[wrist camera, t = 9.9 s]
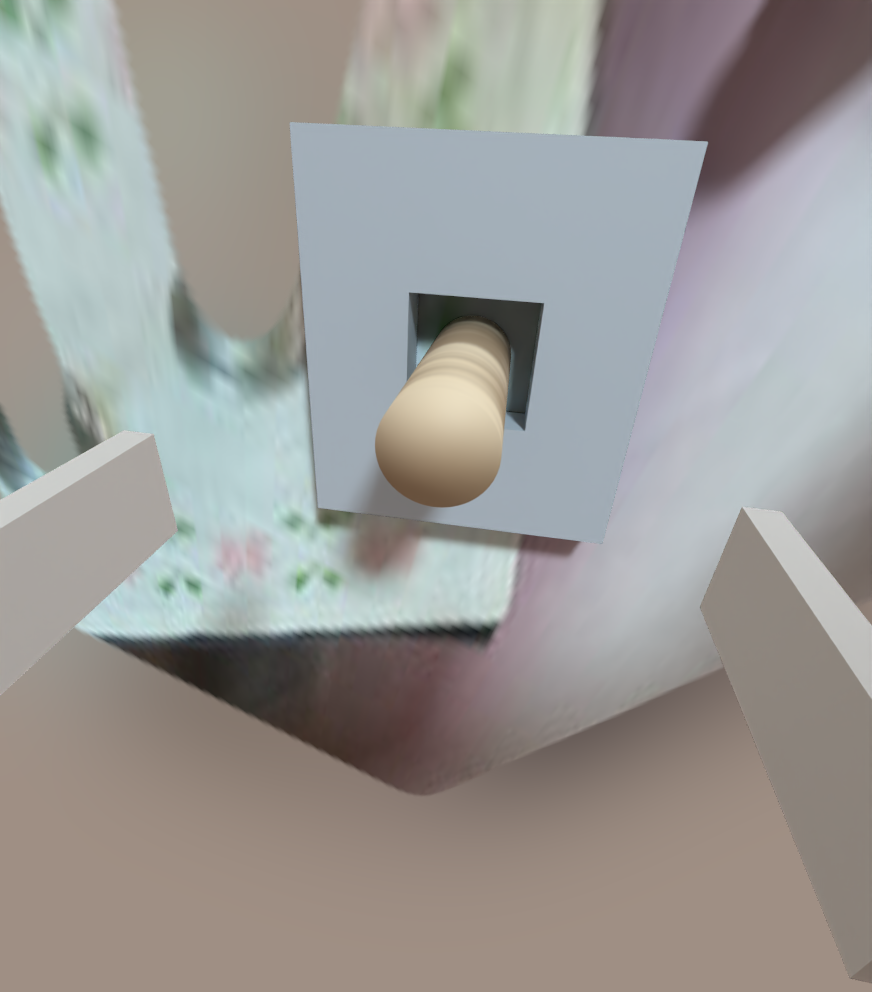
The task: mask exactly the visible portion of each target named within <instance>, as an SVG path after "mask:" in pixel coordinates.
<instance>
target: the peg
mask: <svg viewBox="0 0 872 992" xmlns="http://www.w3.org/2000/svg"><path fill="white" fill-rule="evenodd" d="M510 362H511V348H510V344H509V341H508V338H507V336H506V334H505V333H504V332H503V330H502V329H501V328H500V327H499V326H498V325H497V324H496V323H494V322H493V321H491V320H489V319H487V318H485V317H481V316H474V315H470V316H463V317H460V318H457V319H455V320H453V321H451V322H450V323H449V324H447V325H446V326H445V327H444V328H443V329H442V331H441V332H440V333H439V335H438V336H437V338H436V339H435V341H434V342H433V344H432V345H431V347H430V348H429V350H428V351H427V353H426V354H425V356H424V357H423V358H422V360H421V361H420V363H419V364H418V366H417V367H416V369H415V370H414V372H413V373H412V375H411V376H410V378H409V379H408V381H407V382H406V384H405V385H404V386H403V388H402V389H401V391H400V392H399V394H398V395H397V397H396V398H395V400H394V401H393V403H392V404H391V406H390V407H389V409H388V410H387V412H386V413H385V414H384V416H383V418H382V419H381V421H380V423H379V426H378V429H377V432H376V437H375V453H376V458H377V462H378V464H379V467H380V469H381V471H382V473H383V475H384V476H385V478H386V479H387V481H388V482H389V483H390V484H391V485H392V487H393V488H395V489H396V490H397V491H398V492H399V493H401V494H402V495H403V496H405V497H406V498H408V499H410V500H412V501H414V502H417V503H419V504H422V505H426V506H431V507H441V508H443V507H454V506H459V505H462V504H465V503H468V502H470V501H472V500H474V499H475V498H477V497H479V496H480V495H481V494H482V493H484V492H485V491H486V490H487V489H488V488H489V486H490V485H491V484H492V482H493V481H494V479H495V477H496V475H497V473H498V470H499V468H500V463H501V457H502V446H503V436H504V425H505V415H506V404H507V394H508V383H509V373H510Z"/></svg>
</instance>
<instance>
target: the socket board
mask: <svg viewBox="0 0 872 992" xmlns="http://www.w3.org/2000/svg"><path fill="white" fill-rule="evenodd" d="M290 132H291V133H290V134H291V148H292V161H293V175H294V189H295V202H296V216H297V230H298V243H299V257H300V271H301V284H302V298H303V312H304V325H305V339H306V353H307V366H308V380H309V394H310V407H311V421H312V434H313V448H314V462H315V475H316V489H317V503H318V508H324V509H331V510H339V511H347V512H355V513H363V514H371V515H378V516H386V517H394V518H402V519H410V520H418V521H425V522H433V523H441V524H449V525H457V526H465V527H472V528H480V529H488V530H496V531H504V532H512V533H519V534H527V535H535V536H543V537H551V538H559V539H566V540H574V541H582V542H590V543H598V544H602V543H603V540H604V536H605V532H606V528H607V524H608V521H609V517H610V513H611V509H612V505H613V502H614V498H615V494H616V490H617V486H618V483H619V479H620V475H621V471H622V467H623V464H624V460H625V456H626V452H627V448H628V445H629V441H630V437H631V433H632V429H633V426H634V422H635V418H636V414H637V410H638V407H639V403H640V399H641V395H642V391H643V388H644V384H645V380H646V376H647V372H648V369H649V365H650V361H651V357H652V353H653V350H654V346H655V342H656V338H657V334H658V331H659V327H660V323H661V319H662V316H663V312H664V308H665V304H666V300H667V297H668V293H669V289H670V285H671V281H672V278H673V274H674V270H675V266H676V262H677V259H678V255H679V251H680V247H681V243H682V240H683V236H684V232H685V228H686V224H687V221H688V217H689V213H690V209H691V205H692V202H693V198H694V194H695V190H696V186H697V183H698V179H699V175H700V171H701V167H702V164H703V160H704V156H705V152H706V148H707V145H708V142H707V141H686V140H664V139H642V138H621V137H599V136H577V135H556V134H534V133H512V132H490V131H469V130H447V129H425V128H404V127H382V126H360V125H339V124H316V123H294V122H290ZM419 293H423V294H436V295H448V296H461V297H473V298H485V299H498V300H510V301H523V302H535V303H541V309H540V316H539V323H538V329H537V336H536V343H535V350H534V356H533V363H532V370H531V377H530V384H529V390H528V397H527V404H526V411H525V414H523V413H513V412H506V415H505V425H504V436H503V446H502V457H501V463H500V468H499V470H498V473H497V475H496V477H495V479H494V481H493V482H492V484H491V485H490V486H489V488H488V489H487V490H486V491H485V492H484V493H482V494H481V495H480V496H479V497H477V498H475V499H474V500H472V501H470V502H468V503H465V504H462V505H459V506H454V507H443V508H441V507H431V506H426V505H422V504H419V503H417V502H414V501H412V500H410V499H408V498H406V497H405V496H403V495H402V494H401V493H399V492H398V491H397V490H396V489H395V488H393V487H392V485H391V484H390V483H389V482H388V481H387V479H386V478H385V476H384V475H383V473H382V471H381V469H380V467H379V464H378V462H377V458H376V453H375V437H376V432H377V429H378V426H379V423H380V421H381V419H382V418H383V416H384V414H385V413H386V412H387V410H388V409H389V407H390V406H391V404H392V403H393V401H394V400H395V398H396V397H397V395H398V394H399V392H400V391H401V389H402V388H403V386H404V385H405V384H406V382H407V381H408V379H409V378H410V376H411V375H412V373H413V372H414V370H415V369H416V355H417V325H418V295H419Z"/></svg>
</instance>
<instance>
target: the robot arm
mask: <svg viewBox="0 0 872 992" xmlns="http://www.w3.org/2000/svg"><path fill="white" fill-rule="evenodd" d="M177 531H178V530H177V526H176V522H175V518H174V514H173V510H172V506H171V502H170V498H169V494H168V490H167V486H166V482H165V478H164V474H163V470H162V466H161V462H160V458H159V454H158V450H157V446H156V442H155V438H154V434H149V433H140V432H132V431H122V432H120V433H118V434H117V435H115V436H113V437H111V438H110V439H108V440H106V441H104V442H102V443H101V444H99V445H97V446H95V447H94V448H92V449H90V450H88V451H86V452H85V453H83V454H81V455H79V456H78V457H76V458H74V459H72V460H70V461H69V462H67V463H65V464H63V465H62V466H60V467H58V468H56V469H55V470H53V471H51V472H49V473H47V474H46V475H44V476H42V477H40V478H38V479H37V480H35V481H33V482H31V483H30V484H28V485H26V486H24V487H22V488H21V489H19V490H17V491H15V492H14V493H12V494H10V495H8V496H6V497H5V498H3V499H1V500H0V695H1V694H2V693H3V692H5V691H6V690H7V689H8V688H9V687H10V686H11V685H12V684H13V683H14V682H15V681H16V680H18V679H19V678H20V677H21V675H23V674H24V673H25V672H26V671H27V670H28V669H29V668H30V667H31V666H33V665H34V664H35V663H36V662H37V661H38V660H39V659H40V658H41V657H42V656H43V655H44V654H46V653H47V652H48V651H49V650H50V649H51V648H52V647H53V646H54V645H55V644H56V643H57V642H58V641H60V640H61V639H62V638H63V637H64V636H65V635H66V634H67V633H68V632H69V631H70V630H71V629H72V628H74V627H75V626H76V625H77V624H78V623H79V622H80V621H81V620H82V619H83V618H84V617H85V616H86V615H88V614H89V613H90V612H91V611H92V610H93V609H94V608H95V607H96V606H97V605H98V604H99V603H100V602H102V601H103V600H104V599H105V598H106V597H107V596H108V595H109V594H110V593H111V592H112V591H113V590H114V589H116V588H117V587H118V586H119V585H120V584H121V583H122V582H123V581H124V580H125V579H126V578H127V577H128V576H130V575H131V574H132V573H133V572H134V571H135V570H136V569H137V568H138V567H139V566H140V565H141V564H142V563H144V562H145V561H146V560H147V559H148V558H149V557H150V556H151V555H152V554H153V553H154V552H155V551H156V550H158V549H159V548H160V547H161V546H162V545H163V544H164V543H165V542H166V541H167V540H168V539H169V538H170V537H172V536H173V535H174V534H175V533H176V532H177ZM700 609H701V611H702V614H703V616H704V619H705V621H706V624H707V626H708V629H709V631H710V634H711V636H712V638H713V641H714V643H715V646H716V648H717V651H718V653H719V656H720V658H721V661H722V663H723V666H724V668H725V670H726V673H727V676H728V678H729V681H730V683H731V686H732V688H733V690H734V693H735V695H736V698H737V700H738V703H739V705H740V708H741V710H742V713H743V715H744V718H745V720H746V722H747V725H748V728H749V730H750V732H751V735H752V738H753V740H754V743H755V745H756V747H757V750H758V752H759V755H760V757H761V760H762V762H763V765H764V767H765V769H766V772H767V775H768V777H769V780H770V782H771V785H772V787H773V789H774V792H775V795H776V797H777V799H778V802H779V804H780V807H781V809H782V812H783V814H784V817H785V819H786V822H787V824H788V827H789V829H790V832H791V834H792V837H793V839H794V842H795V844H796V847H797V849H798V851H799V854H800V856H801V859H802V861H803V864H804V866H805V869H806V871H807V874H808V876H809V879H810V881H811V884H812V886H813V889H814V891H815V894H816V896H817V899H818V901H819V903H820V906H821V909H822V911H823V913H824V916H825V918H826V921H827V923H828V926H829V928H830V931H831V933H832V935H833V938H834V941H835V943H836V946H837V948H838V951H839V953H840V955H841V958H842V961H843V963H844V965H845V968H846V970H847V973H848V975H849V978H851V979H855V980H859V981H864V982H869V983H872V625H871V624H870V623H869V621H868V620H867V619H866V618H865V616H864V615H863V614H862V613H861V611H860V610H859V609H858V608H857V606H856V605H855V604H854V602H853V601H852V600H851V599H850V597H849V596H848V595H847V594H846V592H845V591H844V590H843V589H842V587H841V586H840V585H839V583H838V582H837V581H836V580H835V578H834V577H833V576H832V575H831V573H830V572H829V571H828V570H827V568H826V567H825V566H824V564H823V563H822V562H821V561H820V559H819V558H818V557H817V556H816V554H815V553H814V552H813V551H812V549H811V548H810V547H809V545H808V544H807V543H806V542H805V540H804V539H803V538H802V537H801V535H800V534H799V533H798V532H797V530H796V529H795V528H794V526H793V525H792V524H791V523H790V521H789V520H788V519H787V518H786V516H785V515H784V514H783V512H781V511H773V510H764V509H756V508H748V507H742V508H741V511H740V513H739V515H738V518H737V520H736V522H735V525H734V527H733V530H732V532H731V534H730V537H729V539H728V542H727V544H726V546H725V549H724V551H723V553H722V556H721V558H720V561H719V563H718V565H717V568H716V570H715V572H714V575H713V577H712V580H711V582H710V584H709V587H708V589H707V591H706V594H705V596H704V599H703V601H702V603H701V606H700Z"/></svg>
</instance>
